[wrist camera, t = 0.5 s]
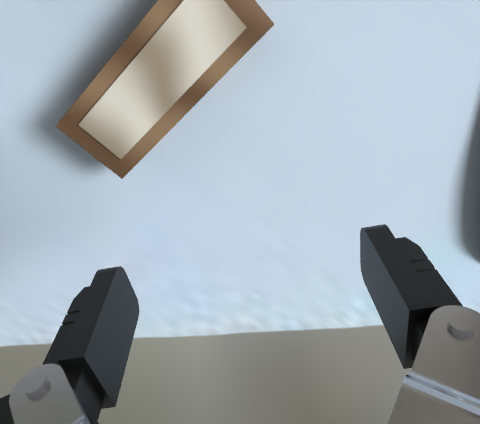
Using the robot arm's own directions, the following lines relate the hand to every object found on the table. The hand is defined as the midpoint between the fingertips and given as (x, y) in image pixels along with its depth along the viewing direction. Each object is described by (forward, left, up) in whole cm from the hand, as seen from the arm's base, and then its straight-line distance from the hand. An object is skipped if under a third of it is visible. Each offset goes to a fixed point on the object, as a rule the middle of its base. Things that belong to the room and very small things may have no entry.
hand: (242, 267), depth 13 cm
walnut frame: (-5, +3, -22) cm, 23 cm away
